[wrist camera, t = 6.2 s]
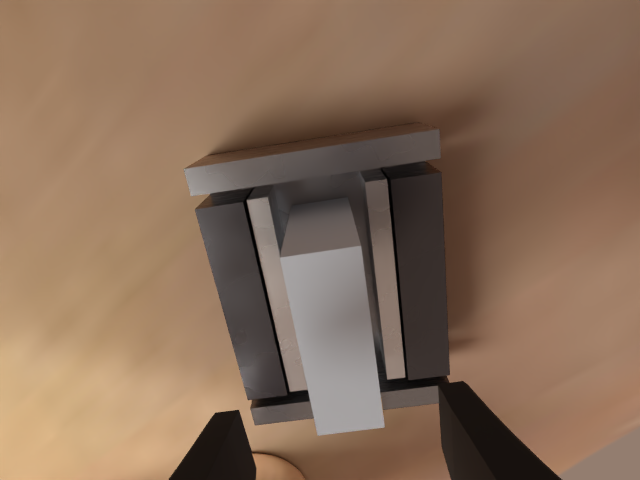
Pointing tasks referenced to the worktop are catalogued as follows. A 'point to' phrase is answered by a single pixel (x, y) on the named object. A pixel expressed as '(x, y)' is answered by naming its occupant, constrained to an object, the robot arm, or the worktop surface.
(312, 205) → the panel
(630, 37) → the worktop surface
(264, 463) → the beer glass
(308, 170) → the rack
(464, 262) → the worktop surface
